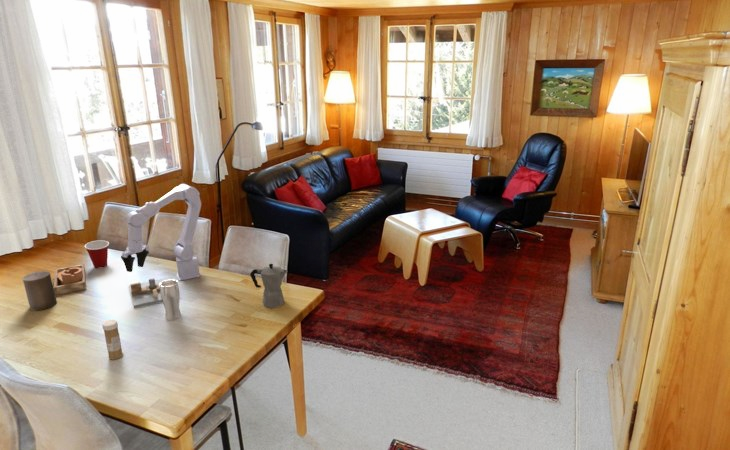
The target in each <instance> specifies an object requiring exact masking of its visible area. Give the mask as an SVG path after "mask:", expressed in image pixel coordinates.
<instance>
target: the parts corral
mask: <svg viewBox="0 0 730 450" xmlns="http://www.w3.org/2000/svg"><path fill="white" fill-rule="evenodd" d="M75 267H78V268H82V272H83V278H82V282H77V283H71V284H66V285H61V284H60V283H59V282H58V278H57V274H58V273H59V272H62V271H63V270H69V268H75ZM86 276H87V275H86V268H85V264H77V265H70V266H67V267H60V268H55V270H54V278H53V288H54V292H55V296H57V295H62V294H67V293H72V292H76V291H77V292H78V291H82V290H86V289H87V281H86V280H87V279H86ZM59 284H60V285H59Z"/></svg>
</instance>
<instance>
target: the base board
mask: <svg viewBox="0 0 730 450" xmlns="http://www.w3.org/2000/svg"><path fill="white" fill-rule="evenodd" d="M166 280H173V279H172V277H171V276H169V277H165V278H164V277H163V278H159V279H155V278H149V279H148V281H144V282H140V283H141V288H145V287H146V286H149V285H150V289H154V288H156V285H155V284H159V287H160V283H161V282H163V281H166ZM128 289H129V293H130V297H131V301H132V304H133V308H134V309H137V308H142V307H146V306H149V305H154V304H160V303H163V302H162V299H161V294H160V291H157V289H154V290H153V292H151V293H147V292H146V293H142V294H137V295H132V294H131V286H130V285H128Z"/></svg>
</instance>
